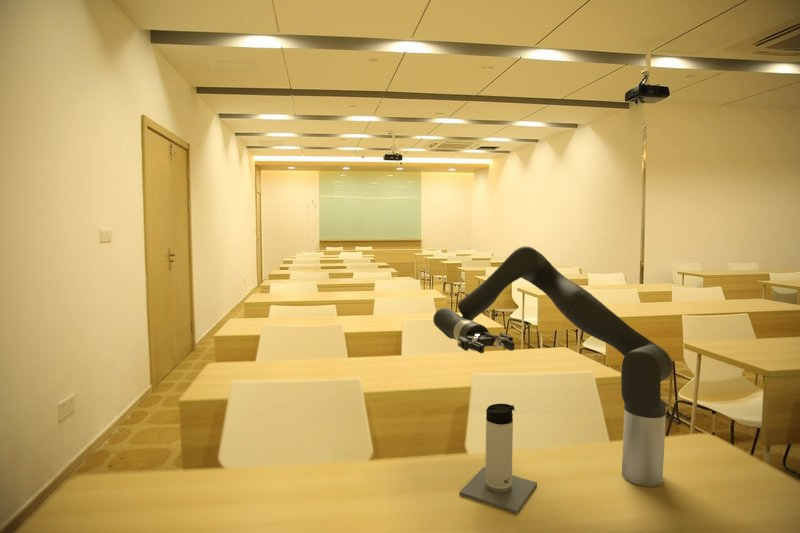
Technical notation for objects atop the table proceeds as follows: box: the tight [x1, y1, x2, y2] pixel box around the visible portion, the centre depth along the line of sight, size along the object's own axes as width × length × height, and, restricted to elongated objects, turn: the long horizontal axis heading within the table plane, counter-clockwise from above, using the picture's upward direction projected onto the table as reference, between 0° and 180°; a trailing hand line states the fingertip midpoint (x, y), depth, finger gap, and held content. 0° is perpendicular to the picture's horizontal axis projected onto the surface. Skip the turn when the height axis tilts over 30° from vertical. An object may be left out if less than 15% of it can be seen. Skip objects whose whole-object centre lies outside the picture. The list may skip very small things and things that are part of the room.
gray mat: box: [458, 466, 538, 515], centre depth 116 cm, size 14×14×1 cm
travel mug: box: [484, 403, 515, 493], centre depth 116 cm, size 6×7×20 cm
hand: (498, 348), depth 124 cm, fingers open, 8 cm apart
